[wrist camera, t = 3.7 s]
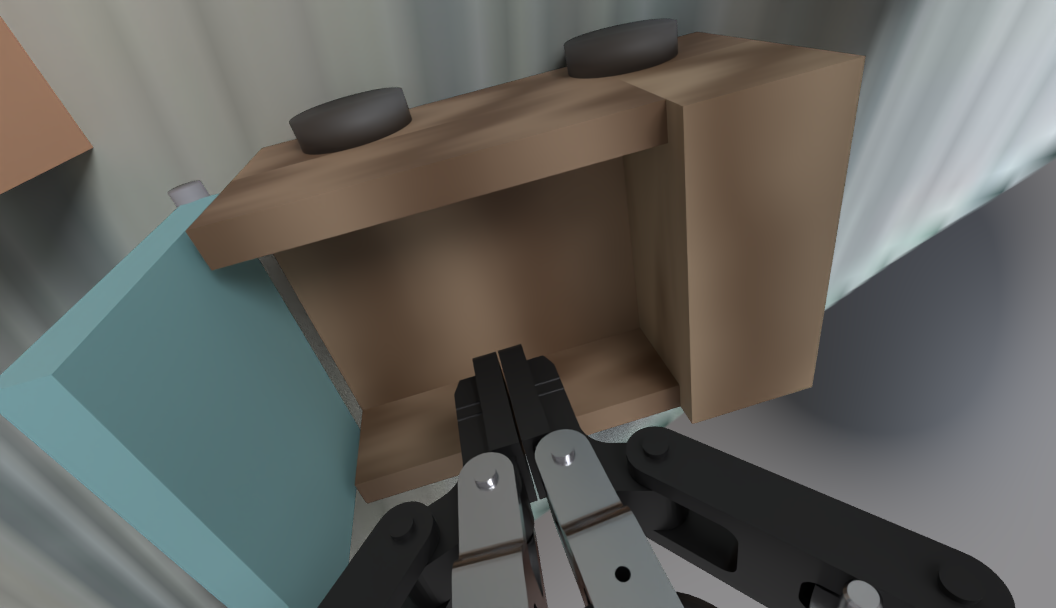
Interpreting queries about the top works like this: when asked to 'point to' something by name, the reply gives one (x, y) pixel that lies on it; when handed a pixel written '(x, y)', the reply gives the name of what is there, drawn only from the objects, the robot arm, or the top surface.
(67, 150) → the tapered tan wedge
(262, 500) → the tailgate
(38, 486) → the top surface
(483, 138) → the truck bed
